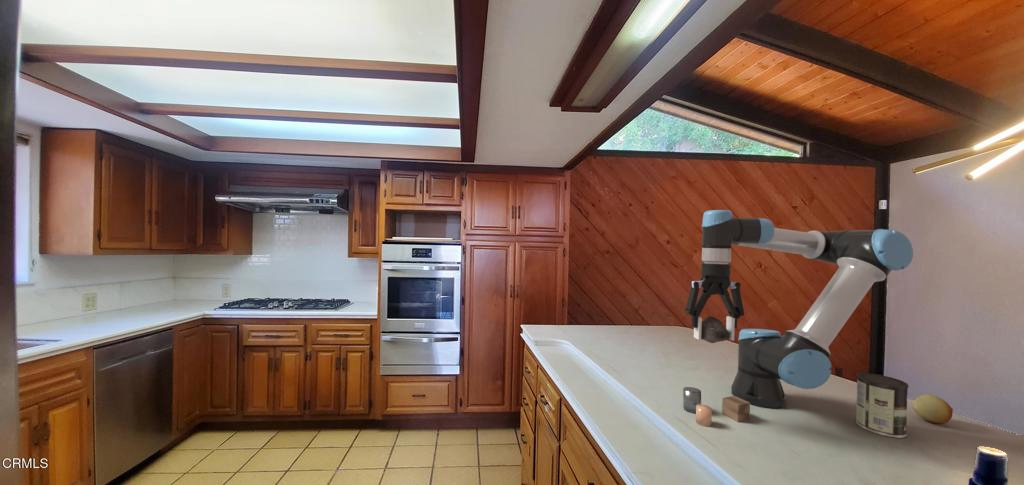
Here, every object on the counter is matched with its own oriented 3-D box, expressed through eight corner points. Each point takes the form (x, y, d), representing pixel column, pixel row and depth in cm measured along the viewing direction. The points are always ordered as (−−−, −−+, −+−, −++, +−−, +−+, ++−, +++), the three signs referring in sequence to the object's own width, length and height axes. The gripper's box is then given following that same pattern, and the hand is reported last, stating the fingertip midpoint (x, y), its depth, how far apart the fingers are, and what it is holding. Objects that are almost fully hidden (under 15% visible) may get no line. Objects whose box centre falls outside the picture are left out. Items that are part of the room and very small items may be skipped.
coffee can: (891, 423, 106) (893, 375, 106) (916, 441, 97) (918, 389, 97) (847, 416, 110) (849, 370, 110) (867, 433, 100) (869, 382, 100)
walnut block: (733, 411, 112) (734, 395, 112) (749, 419, 107) (750, 402, 107) (722, 414, 110) (722, 397, 110) (737, 422, 105) (738, 405, 105)
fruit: (920, 414, 113) (921, 388, 113) (959, 427, 105) (960, 400, 105) (904, 416, 111) (905, 390, 111) (943, 430, 103) (944, 402, 103)
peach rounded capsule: (706, 419, 106) (706, 404, 106) (714, 426, 102) (714, 410, 102) (693, 419, 106) (693, 404, 106) (700, 426, 102) (700, 410, 102)
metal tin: (693, 405, 115) (693, 386, 115) (705, 412, 110) (704, 392, 110) (679, 407, 114) (679, 387, 114) (691, 414, 109) (690, 394, 109)
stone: (700, 347, 113) (682, 326, 111) (720, 328, 113) (702, 307, 111) (723, 363, 103) (704, 340, 101) (745, 342, 103) (726, 319, 101)
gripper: (743, 262, 111) (741, 336, 111) (673, 261, 110) (671, 335, 110) (761, 264, 103) (758, 343, 103) (685, 262, 103) (683, 342, 103)
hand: (713, 338), depth 107 cm, fingers closed on stone, 9 cm apart
